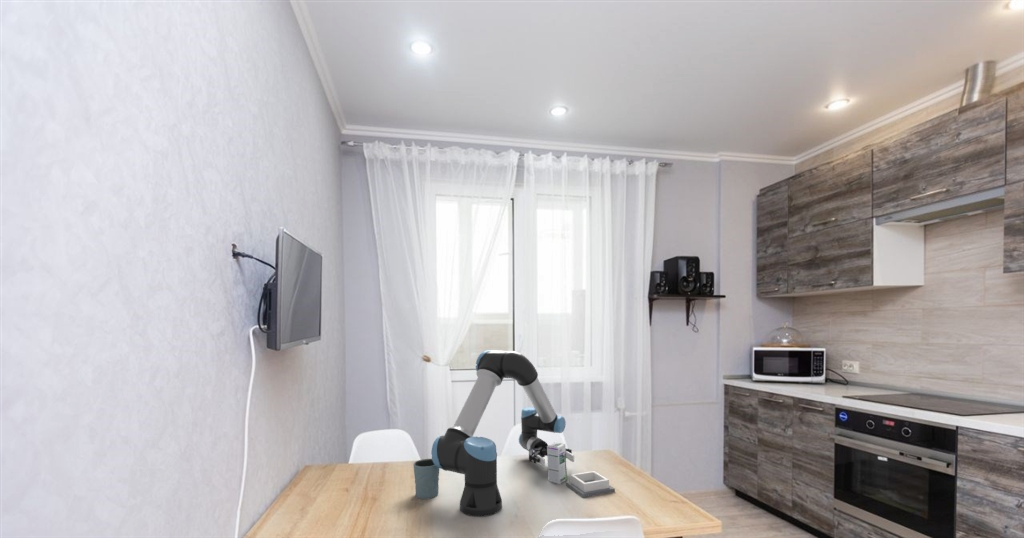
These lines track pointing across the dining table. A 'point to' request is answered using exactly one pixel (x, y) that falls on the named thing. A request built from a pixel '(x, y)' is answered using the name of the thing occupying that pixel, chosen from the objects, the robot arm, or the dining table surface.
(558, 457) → the syrup box
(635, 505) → the dining table surface
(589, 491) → the socket plate
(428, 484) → the teal cup
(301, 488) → the dining table surface
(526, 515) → the dining table surface
